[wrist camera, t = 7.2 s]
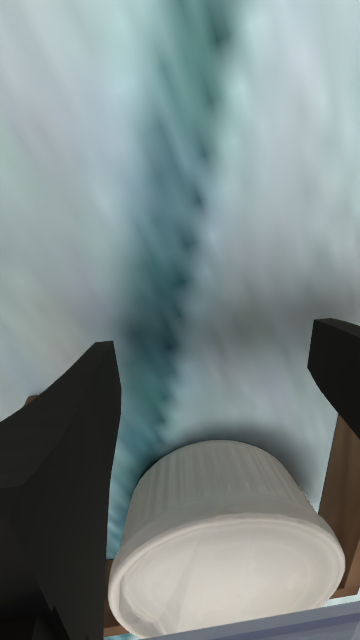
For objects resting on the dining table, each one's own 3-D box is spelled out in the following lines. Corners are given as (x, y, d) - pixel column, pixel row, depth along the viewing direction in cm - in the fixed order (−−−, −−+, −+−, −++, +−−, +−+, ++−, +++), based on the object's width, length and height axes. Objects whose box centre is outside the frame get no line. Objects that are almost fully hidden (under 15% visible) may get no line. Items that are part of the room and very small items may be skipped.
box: (87, 571, 21) (77, 641, 18) (28, 396, 15) (-3, 456, 12) (326, 535, 22) (356, 594, 19) (368, 358, 16) (423, 403, 13)
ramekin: (81, 466, 17) (57, 577, 12) (270, 392, 16) (322, 480, 12) (162, 564, 22) (168, 672, 17) (312, 510, 21) (361, 607, 16)
